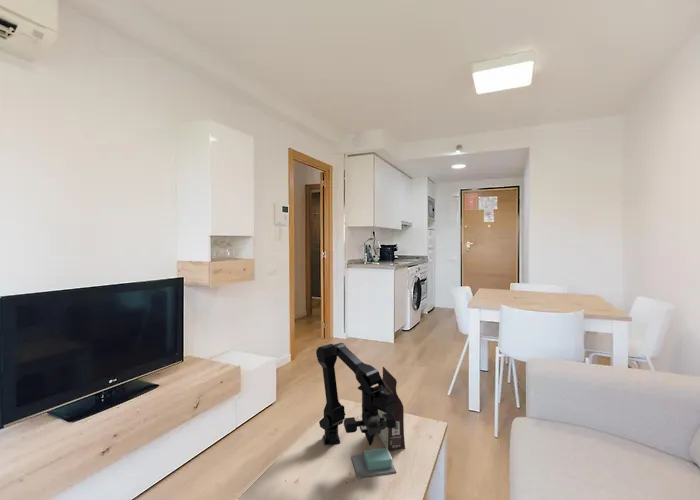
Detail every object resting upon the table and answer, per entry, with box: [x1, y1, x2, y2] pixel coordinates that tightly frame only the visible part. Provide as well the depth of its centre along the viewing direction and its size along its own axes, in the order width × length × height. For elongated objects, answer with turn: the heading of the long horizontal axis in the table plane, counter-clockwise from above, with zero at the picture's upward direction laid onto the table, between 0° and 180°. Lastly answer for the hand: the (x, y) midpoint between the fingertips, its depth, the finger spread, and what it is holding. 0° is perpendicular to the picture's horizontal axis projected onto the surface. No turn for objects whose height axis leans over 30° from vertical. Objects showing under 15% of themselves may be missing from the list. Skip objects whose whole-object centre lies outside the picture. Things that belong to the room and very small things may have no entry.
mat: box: [351, 453, 397, 479], centre depth 130 cm, size 12×14×1 cm
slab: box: [363, 447, 394, 470], centre depth 131 cm, size 7×3×9 cm
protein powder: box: [378, 366, 406, 452], centre depth 147 cm, size 16×9×28 cm, turn 14°
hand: (370, 445), depth 130 cm, fingers closed
